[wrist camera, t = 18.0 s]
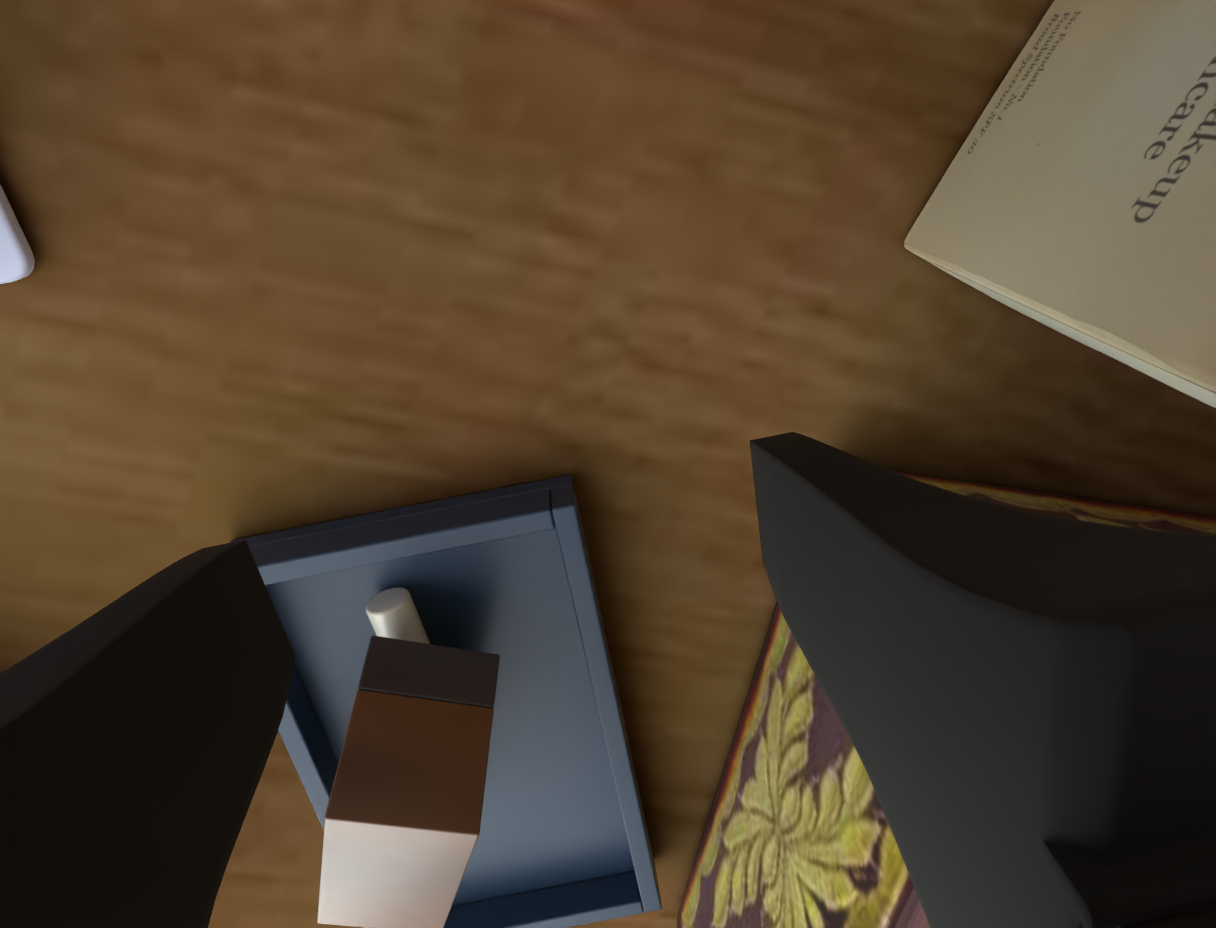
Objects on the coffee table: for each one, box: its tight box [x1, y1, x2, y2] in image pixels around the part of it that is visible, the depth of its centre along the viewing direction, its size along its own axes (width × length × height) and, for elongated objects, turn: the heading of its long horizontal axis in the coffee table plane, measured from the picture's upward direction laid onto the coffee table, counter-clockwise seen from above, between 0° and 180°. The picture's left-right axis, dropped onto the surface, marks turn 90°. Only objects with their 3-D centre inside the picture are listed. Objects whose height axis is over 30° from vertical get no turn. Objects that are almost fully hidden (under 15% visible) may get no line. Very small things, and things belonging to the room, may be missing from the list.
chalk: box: [366, 587, 431, 644], centre depth 22 cm, size 1×3×1 cm
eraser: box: [317, 636, 500, 928], centre depth 20 cm, size 6×3×4 cm, turn 165°
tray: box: [230, 475, 662, 928], centre depth 24 cm, size 9×15×2 cm, turn 10°
